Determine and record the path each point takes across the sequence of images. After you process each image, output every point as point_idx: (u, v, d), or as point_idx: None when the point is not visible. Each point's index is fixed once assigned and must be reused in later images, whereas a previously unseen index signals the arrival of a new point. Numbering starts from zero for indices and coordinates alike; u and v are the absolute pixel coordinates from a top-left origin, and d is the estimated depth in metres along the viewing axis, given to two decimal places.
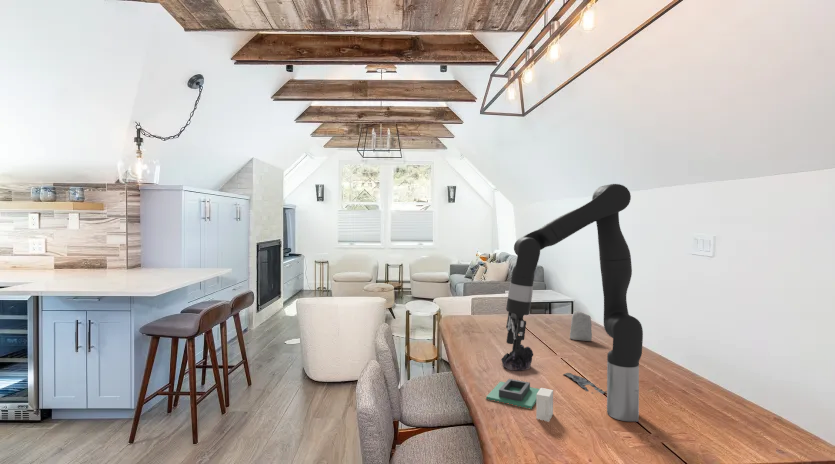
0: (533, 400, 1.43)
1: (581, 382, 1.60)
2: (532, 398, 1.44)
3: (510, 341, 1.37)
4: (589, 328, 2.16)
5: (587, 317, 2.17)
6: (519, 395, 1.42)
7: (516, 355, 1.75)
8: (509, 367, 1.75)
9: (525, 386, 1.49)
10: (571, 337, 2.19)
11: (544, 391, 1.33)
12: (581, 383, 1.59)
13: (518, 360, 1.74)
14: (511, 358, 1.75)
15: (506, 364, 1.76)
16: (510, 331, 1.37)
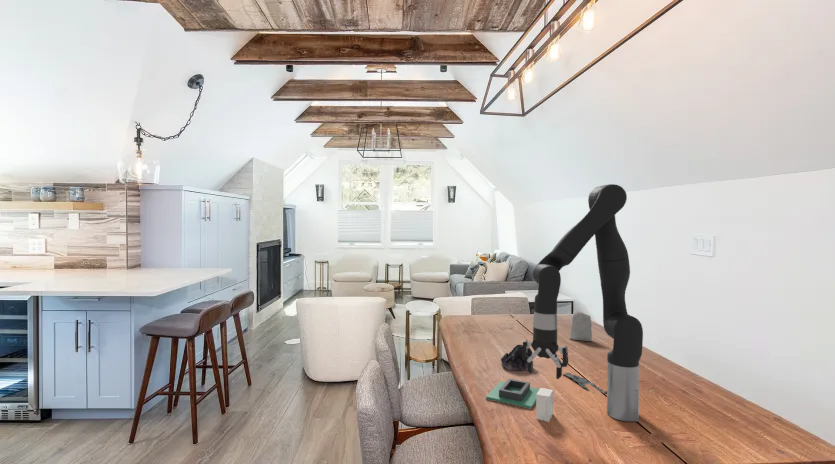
0: (533, 400, 1.43)
1: (581, 382, 1.60)
2: (532, 398, 1.44)
3: (532, 370, 1.35)
4: (589, 328, 2.16)
5: (587, 317, 2.17)
6: (519, 395, 1.42)
7: (515, 355, 1.75)
8: (508, 367, 1.75)
9: (525, 386, 1.49)
10: (571, 337, 2.19)
11: (544, 391, 1.33)
12: (581, 383, 1.59)
13: (517, 360, 1.74)
14: (510, 358, 1.75)
15: (505, 364, 1.76)
16: (531, 361, 1.34)
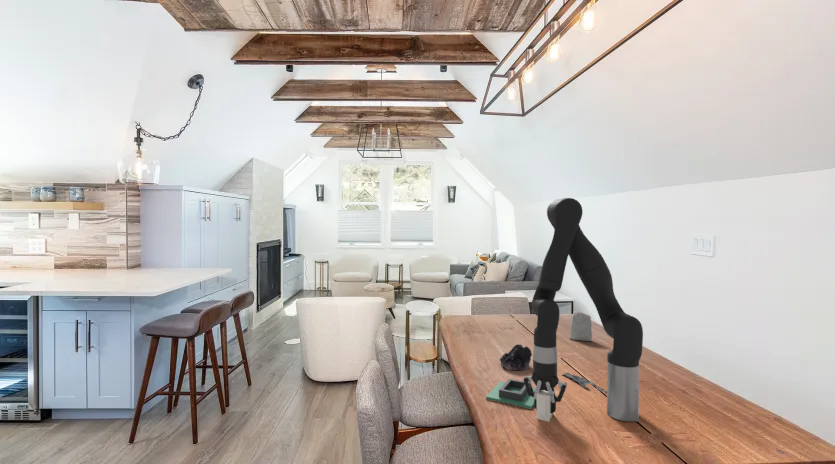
0: (533, 400, 1.43)
1: (582, 382, 1.60)
2: (532, 398, 1.44)
3: None
4: (589, 328, 2.16)
5: (587, 317, 2.17)
6: (519, 395, 1.42)
7: (514, 355, 1.75)
8: (508, 367, 1.75)
9: (525, 386, 1.49)
10: (571, 337, 2.19)
11: (544, 391, 1.33)
12: (582, 383, 1.59)
13: (517, 360, 1.74)
14: (510, 358, 1.75)
15: (505, 364, 1.76)
16: None
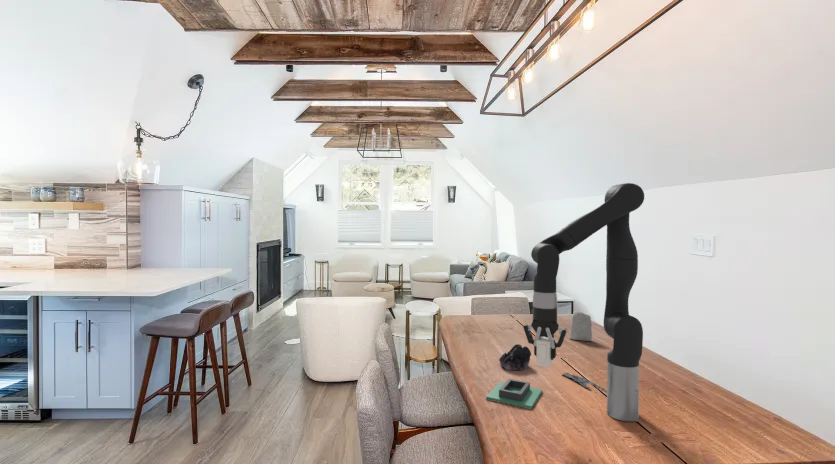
0: (533, 400, 1.43)
1: (582, 382, 1.60)
2: (532, 398, 1.44)
3: None
4: (589, 328, 2.16)
5: (587, 317, 2.17)
6: (519, 395, 1.42)
7: (514, 355, 1.76)
8: (507, 367, 1.76)
9: (525, 386, 1.49)
10: (571, 337, 2.19)
11: (544, 338, 1.33)
12: (582, 383, 1.59)
13: (516, 360, 1.75)
14: (509, 358, 1.75)
15: (504, 364, 1.76)
16: None
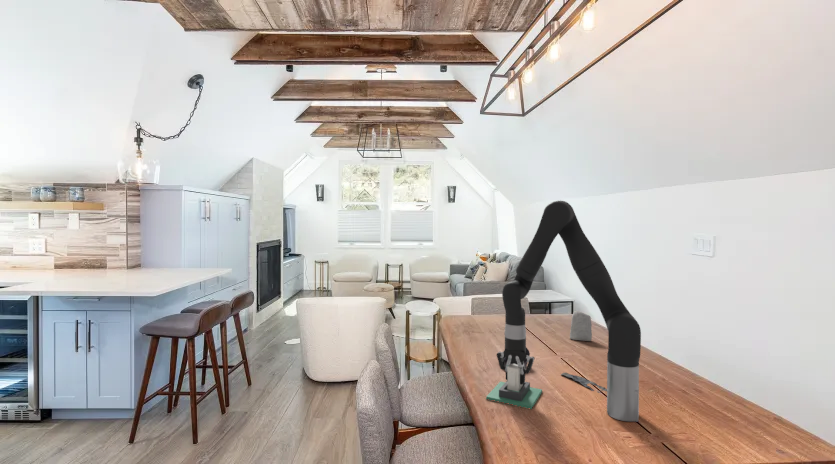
0: (533, 400, 1.43)
1: (582, 381, 1.61)
2: (532, 398, 1.44)
3: None
4: (589, 328, 2.16)
5: (587, 317, 2.17)
6: (519, 395, 1.42)
7: None
8: None
9: (525, 386, 1.49)
10: (571, 337, 2.19)
11: (514, 365, 1.49)
12: (583, 382, 1.60)
13: None
14: None
15: None
16: None
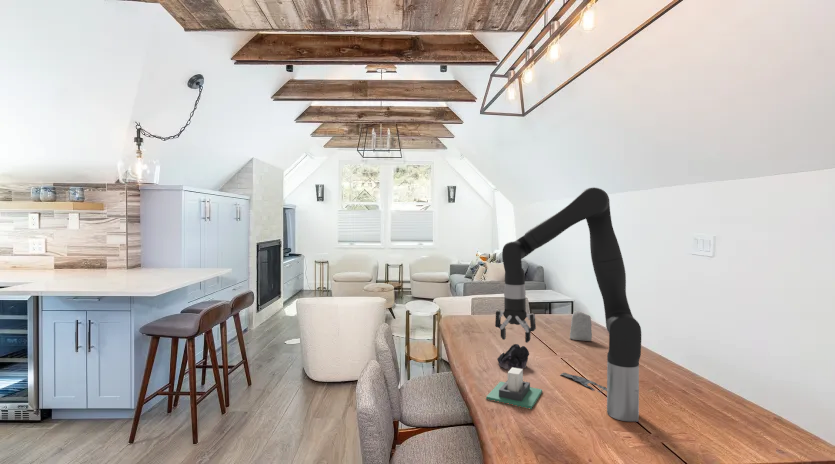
0: (533, 400, 1.43)
1: (582, 381, 1.61)
2: (532, 398, 1.44)
3: (504, 337, 1.51)
4: (589, 328, 2.16)
5: (587, 317, 2.17)
6: (519, 395, 1.42)
7: (512, 354, 1.76)
8: (505, 367, 1.76)
9: (525, 386, 1.49)
10: (571, 337, 2.19)
11: (514, 370, 1.49)
12: (583, 382, 1.60)
13: (514, 359, 1.75)
14: (507, 358, 1.75)
15: (502, 364, 1.76)
16: (503, 328, 1.51)
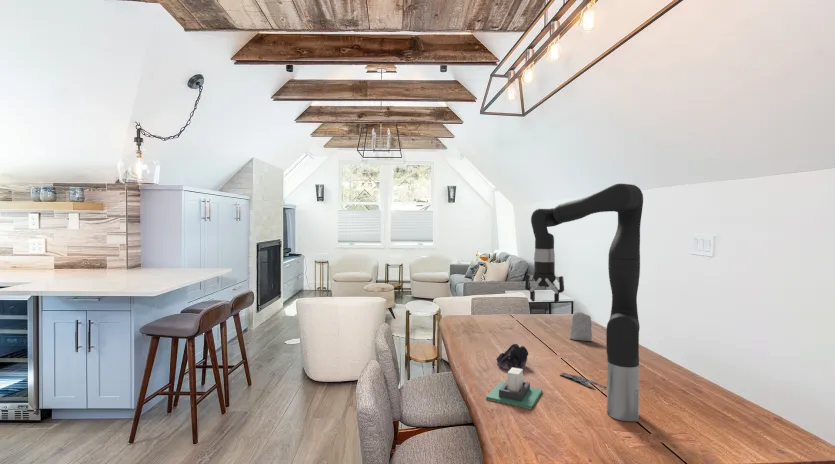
0: (533, 400, 1.43)
1: (582, 381, 1.61)
2: (532, 398, 1.44)
3: (534, 299, 1.61)
4: (589, 328, 2.16)
5: (587, 317, 2.17)
6: (519, 395, 1.42)
7: (511, 354, 1.76)
8: (505, 367, 1.76)
9: (525, 386, 1.49)
10: (571, 337, 2.19)
11: (514, 370, 1.49)
12: (583, 382, 1.60)
13: (514, 359, 1.75)
14: (507, 358, 1.76)
15: (502, 364, 1.76)
16: (533, 290, 1.60)
